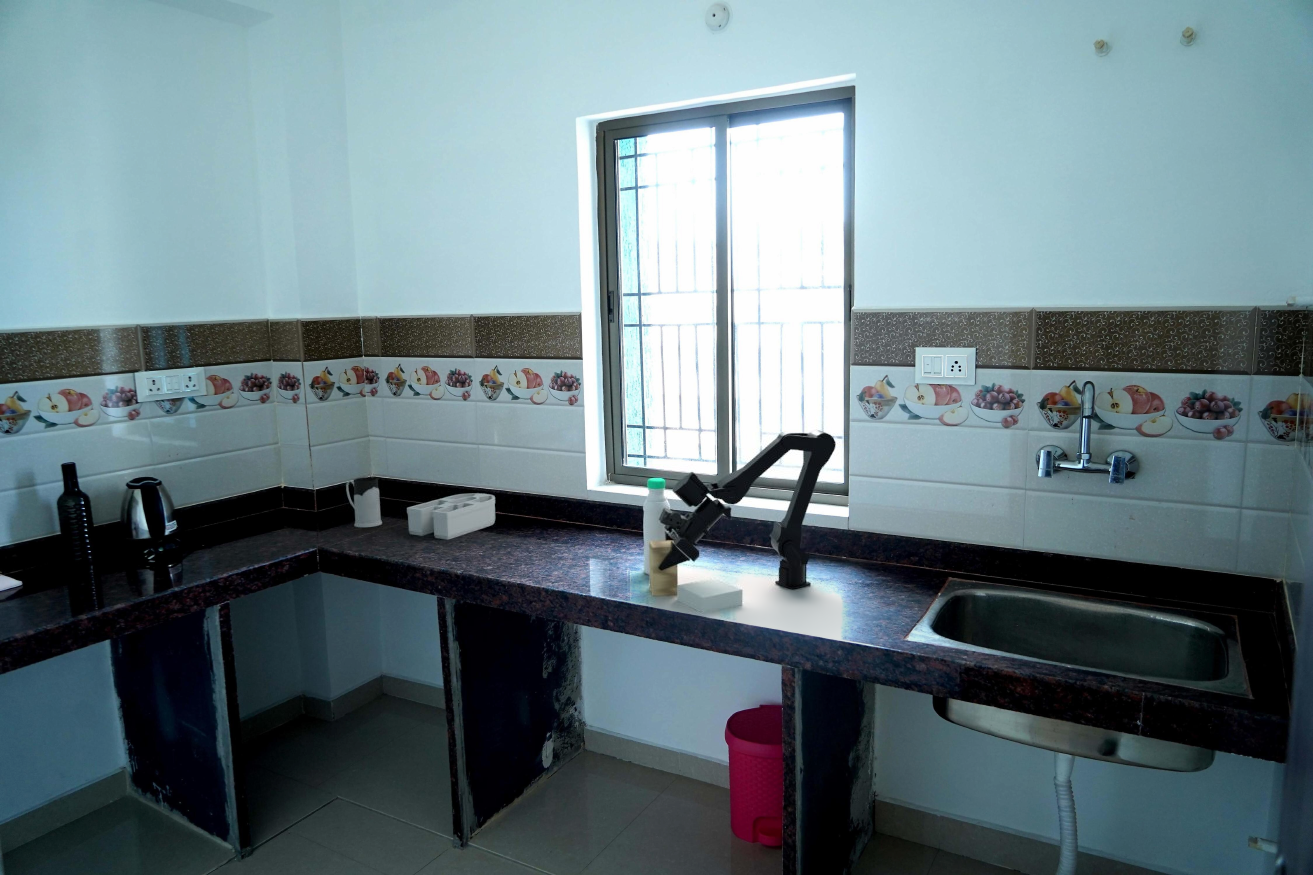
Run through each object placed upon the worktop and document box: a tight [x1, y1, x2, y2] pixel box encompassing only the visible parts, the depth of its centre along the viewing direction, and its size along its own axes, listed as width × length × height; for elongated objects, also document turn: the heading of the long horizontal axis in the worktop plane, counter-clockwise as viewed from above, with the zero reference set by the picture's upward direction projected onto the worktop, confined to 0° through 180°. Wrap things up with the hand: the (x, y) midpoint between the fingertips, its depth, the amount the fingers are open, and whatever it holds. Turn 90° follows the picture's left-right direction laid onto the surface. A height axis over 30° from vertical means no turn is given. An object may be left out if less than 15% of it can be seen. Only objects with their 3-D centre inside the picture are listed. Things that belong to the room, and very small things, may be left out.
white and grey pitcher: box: [345, 476, 383, 528], centre depth 290 cm, size 9×14×15 cm, turn 57°
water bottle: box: [642, 477, 671, 576], centre depth 229 cm, size 7×7×25 cm
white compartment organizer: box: [406, 492, 496, 541], centre depth 283 cm, size 17×28×9 cm, turn 151°
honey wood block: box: [649, 540, 679, 597], centre depth 214 cm, size 6×6×12 cm
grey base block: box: [676, 577, 743, 614], centre depth 207 cm, size 11×11×4 cm
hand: (657, 565), depth 214 cm, fingers closed on honey wood block, 6 cm apart
